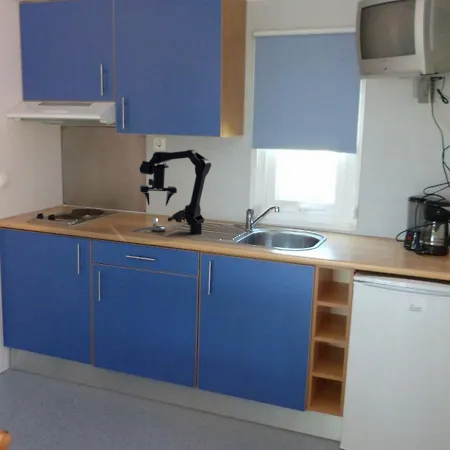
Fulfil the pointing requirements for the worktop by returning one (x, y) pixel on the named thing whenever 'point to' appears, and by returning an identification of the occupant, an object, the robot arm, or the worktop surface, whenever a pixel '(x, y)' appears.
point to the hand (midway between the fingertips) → (157, 205)
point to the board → (145, 228)
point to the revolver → (178, 216)
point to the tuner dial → (157, 226)
